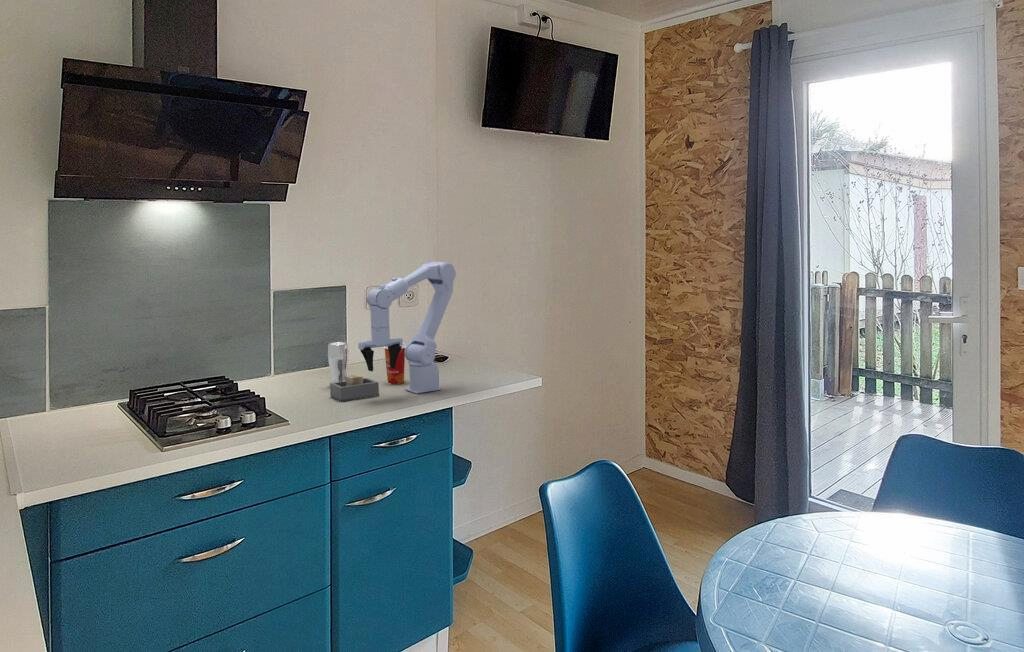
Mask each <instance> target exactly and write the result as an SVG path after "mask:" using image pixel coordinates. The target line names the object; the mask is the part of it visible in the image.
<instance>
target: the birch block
mask: <svg viewBox="0 0 1024 652" xmlns="http://www.w3.org/2000/svg"><path fill="white" fill-rule="evenodd" d="M363 378H364V376H362V375H359V374H351V375H347V376H346V386H351V385H358V384H363Z"/></svg>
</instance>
